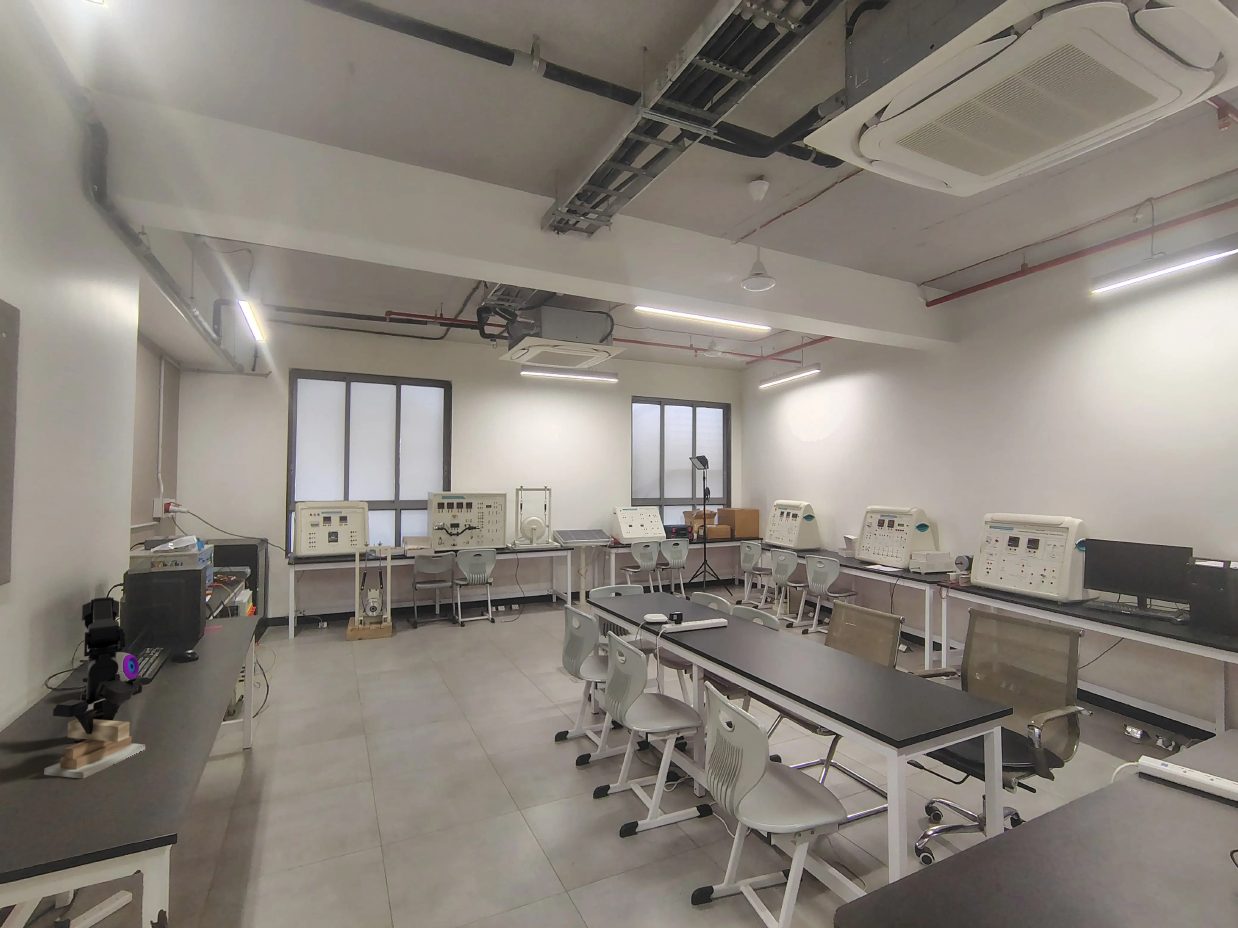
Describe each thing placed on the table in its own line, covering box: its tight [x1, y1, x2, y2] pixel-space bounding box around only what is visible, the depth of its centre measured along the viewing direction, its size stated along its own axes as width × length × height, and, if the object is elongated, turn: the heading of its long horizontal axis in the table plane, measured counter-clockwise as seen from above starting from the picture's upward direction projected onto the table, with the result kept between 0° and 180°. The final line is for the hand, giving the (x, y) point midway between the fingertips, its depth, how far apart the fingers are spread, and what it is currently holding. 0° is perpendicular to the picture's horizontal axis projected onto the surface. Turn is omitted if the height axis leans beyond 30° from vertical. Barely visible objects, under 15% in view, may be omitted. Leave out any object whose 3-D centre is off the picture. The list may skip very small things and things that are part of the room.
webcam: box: [116, 651, 140, 681], centre depth 200 cm, size 13×13×15 cm
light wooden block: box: [67, 719, 131, 742], centre depth 152 cm, size 16×3×4 cm, turn 81°
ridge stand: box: [43, 735, 146, 779], centre depth 152 cm, size 12×16×6 cm
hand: (98, 730), depth 152 cm, fingers open, 4 cm apart
